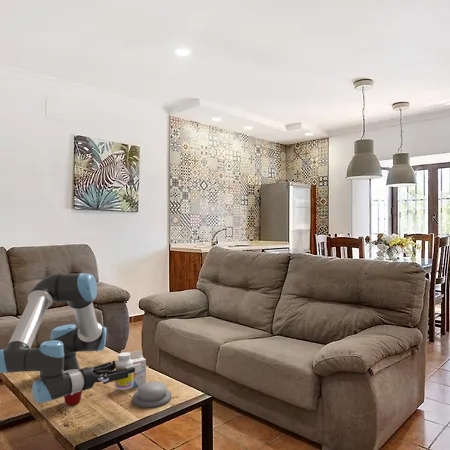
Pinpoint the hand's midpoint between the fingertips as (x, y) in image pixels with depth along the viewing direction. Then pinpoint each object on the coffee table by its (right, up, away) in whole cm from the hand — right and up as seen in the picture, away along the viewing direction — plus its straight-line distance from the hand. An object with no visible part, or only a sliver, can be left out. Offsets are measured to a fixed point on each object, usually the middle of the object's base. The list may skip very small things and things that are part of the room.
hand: (135, 364), depth 159 cm
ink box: (-5, -18, +24) cm, 31 cm away
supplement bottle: (-4, -8, -4) cm, 9 cm away
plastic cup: (-27, -18, +6) cm, 33 cm away
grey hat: (+5, -18, +9) cm, 21 cm away
